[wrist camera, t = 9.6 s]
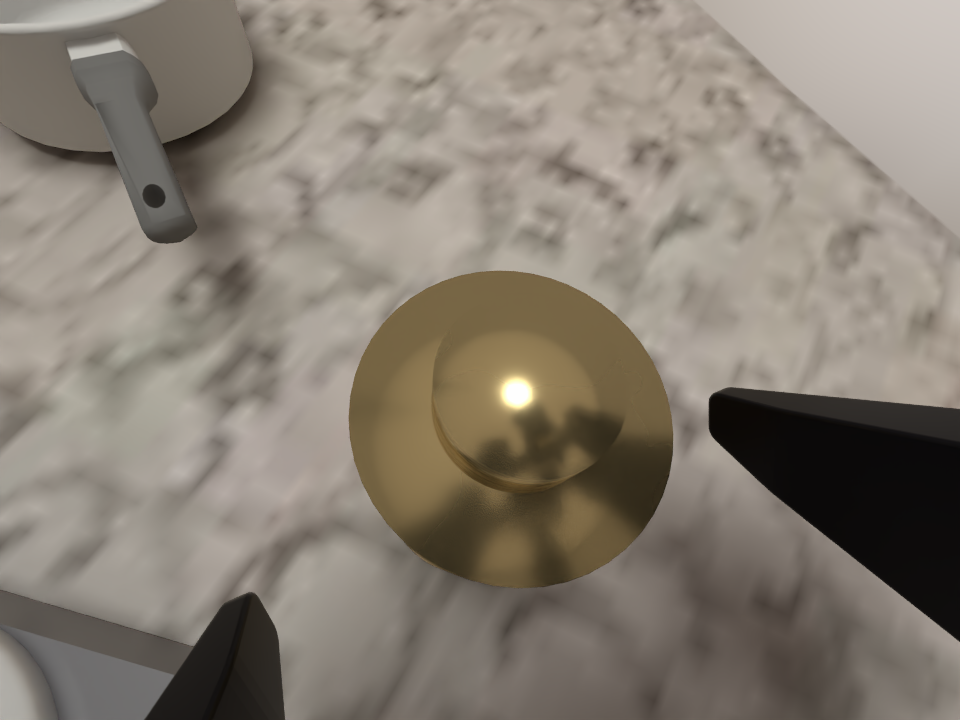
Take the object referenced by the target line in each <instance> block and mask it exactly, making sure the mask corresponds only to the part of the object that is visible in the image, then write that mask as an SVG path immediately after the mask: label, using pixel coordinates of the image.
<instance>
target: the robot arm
mask: <svg viewBox="0 0 960 720" xmlns="http://www.w3.org/2000/svg"><path fill="white" fill-rule="evenodd" d="M709 431H710V433H711V435H712V437H713V438H714V439H715V440H716V441H717V442H718V443H719V444H720V445H721V446H722V447H723V448H724V449H725V450H726V451H727V452H728V453H730V454H731V455H732V456H733V457H734V458H735V459H736V460H737V461H738V462H739V463H740V464H741V465H742V466H743V467H744V468H745V469H747V470H748V471H749V472H750V473H751V474H752V475H753V476H754V477H755V478H756V479H757V480H758V481H759V482H760V483H761V484H763V485H764V486H765V487H766V488H767V489H768V490H769V491H770V492H771V493H773V494H774V495H775V496H776V497H778V498H779V499H780V500H781V501H782V502H784V503H785V504H786V505H787V506H789V507H790V508H791V509H792V510H794V511H795V512H796V513H798V514H799V515H800V516H801V517H803V518H804V519H805V520H806V521H808V522H809V523H810V524H811V525H813V526H814V527H815V528H817V529H818V530H819V531H820V532H822V533H823V534H824V535H825V536H827V537H828V538H829V539H830V540H832V541H833V542H834V543H835V544H837V545H838V546H839V547H841V548H842V549H843V550H844V551H846V552H847V553H848V554H849V555H851V556H852V557H853V558H854V559H856V560H857V561H858V562H860V563H861V564H862V565H863V566H865V567H866V568H867V569H868V570H870V571H871V572H872V573H873V574H875V575H876V576H877V577H878V578H880V579H881V580H882V581H884V582H885V583H886V584H887V585H889V586H890V587H891V588H892V589H894V590H895V591H896V592H897V593H899V594H900V595H901V596H903V597H904V598H905V599H906V600H908V601H909V602H910V603H911V604H913V605H914V606H915V607H916V608H918V609H919V610H920V611H921V612H923V613H924V614H925V615H927V616H928V617H929V618H930V619H932V620H933V621H934V622H935V623H937V624H938V625H939V626H940V627H942V628H943V629H944V630H945V631H947V632H948V633H949V634H951V635H952V636H953V637H954V638H956V639H957V640H958V641H959V642H960V409H954V408H944V407H933V406H923V405H912V404H902V403H891V402H881V401H870V400H860V399H849V398H839V397H828V396H817V395H807V394H796V393H786V392H775V391H765V390H754V389H744V388H733V387H729V388H725V389H722V390H720V391H718V392H715V393H713V394H712V395H711V396H710V398H709ZM144 720H285V714H284V701H283V689H282V677H281V664H280V652H279V641H278V635H277V631H276V628H275V626H274V624H273V622H272V620H271V618H270V617H269V615H268V613H267V611H266V610H265V608H264V606H263V604H262V603H261V601H260V599H259V598H258V596H257V595H256V594H255V593H252V592H248V593H246V594H243V595H241V596H239V597H236V598H234V599H232V600H229V601H228V602H226V603H224V604H223V605H222V607H221V608H220V609H219V611H218V612H217V614H216V615H215V617H214V618H213V620H212V621H211V622H210V624H209V625H208V627H207V628H206V630H205V631H204V633H203V634H202V636H201V637H200V639H199V640H198V641H197V643H196V644H195V646H194V647H193V649H192V650H191V652H190V653H189V655H188V656H187V658H186V659H185V660H184V662H183V663H182V665H181V666H180V668H179V669H178V671H177V672H176V674H175V675H174V677H173V678H172V679H171V681H170V682H169V684H168V685H167V687H166V688H165V690H164V691H163V693H162V694H161V696H160V697H159V698H158V700H157V701H156V703H155V704H154V706H153V707H152V709H151V710H150V712H149V713H148V715H147V716H146V717H145V719H144Z"/></svg>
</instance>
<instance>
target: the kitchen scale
mask: <svg viewBox="0 0 960 720" xmlns="http://www.w3.org/2000/svg"><path fill="white" fill-rule="evenodd" d="M192 649H193V647H192V646H188V645H185V644H181V643H178V642H175V641H171V640H168V639H164V638H161V637H158V636H154V635H151V634H148V633H144V632H141V631H137V630H134V629H131V628H127V627H124V626H120V625H117V624H114V623H110V622H107V621H103V620H100V619H97V618H93V617H90V616H86V615H83V614H80V613H76V612H73V611H69V610H66V609H63V608H59V607H56V606H52V605H49V604H46V603H42V602H39V601H35V600H32V599H29V598H25V597H22V596H18V595H15V594H12V593H8V592H5V591H1V590H0V720H144V719H145V717H146V716H147V715H148V713H149V712H150V710H151V709H152V707H153V706H154V704H155V703H156V701H157V700H158V698H159V697H160V696H161V694H162V693H163V691H164V690H165V688H166V687H167V685H168V684H169V682H170V681H171V679H172V678H173V677H174V675H175V674H176V672H177V671H178V669H179V668H180V666H181V665H182V663H183V662H184V660H185V659H186V658H187V656H188V655H189V653H190V652H191V650H192Z"/></svg>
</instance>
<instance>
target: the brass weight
mask: <svg viewBox="0 0 960 720" xmlns="http://www.w3.org/2000/svg"><path fill="white" fill-rule="evenodd" d="M349 430H350V441H351V446H352V451H353V456H354V461H355V464H356V467H357V470H358V472H359V475H360V478H361V481H362V483H363V485H364V487H365V489H366V491H367V493H368V495H369V497H370V499H371V501H372V503H373V504H374V506H375V507H376V509H377V510H378V511H379V513H380V514H381V516H382V517H383V518H384V520H385V521H386V523H387V524H388V525H389V526H390V527H391V528H392V529H393V530H394V532H395V533H396V534H397V535H398V536H399V537H400V538H401V539H402V540H403V541H404V542H405V543H406V544H407V546H408V547H409V548H410V549H411V550H412V551H413V552H414V553H415V554H416V555H417V556H419V557H420V558H421V559H422V560H424V561H425V562H427V563H429V564H430V565H432V566H435V567H437V568H440V569H442V570H445V571H447V572H450V573H453V574H455V575H458V576H461V577H463V578H466V579H469V580H472V581H476V582H480V583H484V584H488V585H492V586H501V587H511V588H531V587H545V586H550V585H554V584H559V583H564V582H568V581H570V580H573V579H576V578H578V577H581V576H584V575H586V574H589V573H591V572H593V571H594V570H596V569H598V568H600V567H601V566H603V565H605V564H607V563H609V562H610V561H611V560H612V559H614V558H615V557H616V556H617V555H619V554H620V553H621V552H623V551H624V550H625V549H626V548H627V547H628V546H629V545H630V544H631V543H632V542H633V541H634V540H635V539H636V538H637V537H638V535H639V534H640V533H641V532H642V531H643V529H644V528H645V526H646V525H647V523H648V522H649V521H650V519H651V518H652V516H653V515H654V513H655V511H656V509H657V506H658V504H659V502H660V500H661V498H662V496H663V493H664V490H665V487H666V484H667V481H668V478H669V473H670V467H671V462H672V456H673V428H672V417H671V412H670V407H669V403H668V398H667V395H666V392H665V389H664V386H663V383H662V381H661V378H660V376H659V374H658V372H657V370H656V367H655V365H654V363H653V361H652V359H651V358H650V356H649V355H648V353H647V352H646V350H645V349H644V347H643V346H642V344H641V343H640V341H639V340H638V339H637V338H636V336H635V335H634V334H633V333H632V332H631V330H630V329H629V328H628V327H627V326H626V325H625V324H624V323H623V322H622V321H621V320H620V319H619V318H618V317H617V316H616V315H615V314H613V313H612V312H611V311H610V310H608V309H607V308H606V307H605V306H603V305H602V304H601V303H599V302H598V301H596V300H595V299H593V298H591V297H590V296H588V295H587V294H585V293H583V292H581V291H579V290H577V289H575V288H573V287H571V286H569V285H567V284H564V283H562V282H559V281H556V280H553V279H551V278H547V277H543V276H539V275H535V274H530V273H523V272H516V271H486V272H476V273H471V274H466V275H461V276H458V277H454V278H451V279H448V280H445V281H442V282H440V283H438V284H436V285H433V286H431V287H429V288H427V289H425V290H423V291H422V292H420V293H419V294H417V295H415V296H414V297H412V298H410V299H409V300H408V301H407V302H405V303H404V304H403V305H402V306H400V307H399V308H398V309H397V310H396V311H395V312H394V313H393V314H392V315H391V316H390V317H389V318H388V319H387V320H386V321H385V322H384V323H383V324H382V326H381V327H380V328H379V330H378V331H377V332H376V334H375V335H374V337H373V338H372V339H371V341H370V343H369V345H368V347H367V349H366V350H365V352H364V354H363V356H362V358H361V361H360V364H359V366H358V369H357V371H356V374H355V378H354V382H353V387H352V391H351V395H350V407H349Z"/></svg>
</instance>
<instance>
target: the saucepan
mask: <svg viewBox="0 0 960 720" xmlns="http://www.w3.org/2000/svg"><path fill="white" fill-rule="evenodd" d="M252 70H253V58H252V51H251V48H250V45H249V42H248V39H247V36H246V33H245V30H244V27H243V24H242V21H241V18H240V16H239V13H238V10H237V7H236V4H235V1H234V0H0V122H1V123H2V124H3V125H5V126H6V127H8V128H9V129H11V130H13V131H14V132H16V133H18V134H19V135H21V136H23V137H26V138H28V139H31V140H34V141H36V142H39V143H42V144H44V145H48V146H53V147H58V148H63V149H68V150H75V151H93V152H109V151H112V153H113V155H114V158H115V160H116V163H117V166H118V168H119V171H120V173H121V176H122V179H123V181H124V184H125V186H126V189H127V192H128V194H129V197H130V199H131V202H132V205H133V207H134V210H135V212H136V215H137V218H138V220H139V223H140V225H141V228H142V230H143V231H144V233H145V234H146V236H147V237H148V238H149V239H150V240H152V241H154V242H157V243H166V244H167V243H175V242H181V241H183V240H184V239H186V238H187V237H189V236H190V235H192V234H193V233H194V232H195V231H196V229H197V225H196V223H195V221H194V218H193V216H192V213H191V211H190V209H189V206H188V204H187V202H186V199H185V197H184V195H183V192H182V190H181V187H180V185H179V183H178V180H177V178H176V176H175V173H174V171H173V169H172V166H171V164H170V162H169V159H168V157H167V154H166V152H165V150H164V147H163V145H162V144H163V143H166V142H169V141H172V140H175V139H178V138H181V137H184V136H187V135H189V134H191V133H193V132H195V131H197V130H199V129H201V128H203V127H205V126H207V125H209V124H210V123H212V122H213V121H214V120H216V119H217V118H219V117H220V116H221V115H223V114H224V113H226V112H227V111H228V110H229V109H230V108H231V107H232V106H233V105H234V104H235V103H236V102H237V101H238V99H239V98H240V97H241V96H242V94H243V92H244V91H245V89H246V87H247V86H248V84H249V82H250V78H251V74H252Z"/></svg>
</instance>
